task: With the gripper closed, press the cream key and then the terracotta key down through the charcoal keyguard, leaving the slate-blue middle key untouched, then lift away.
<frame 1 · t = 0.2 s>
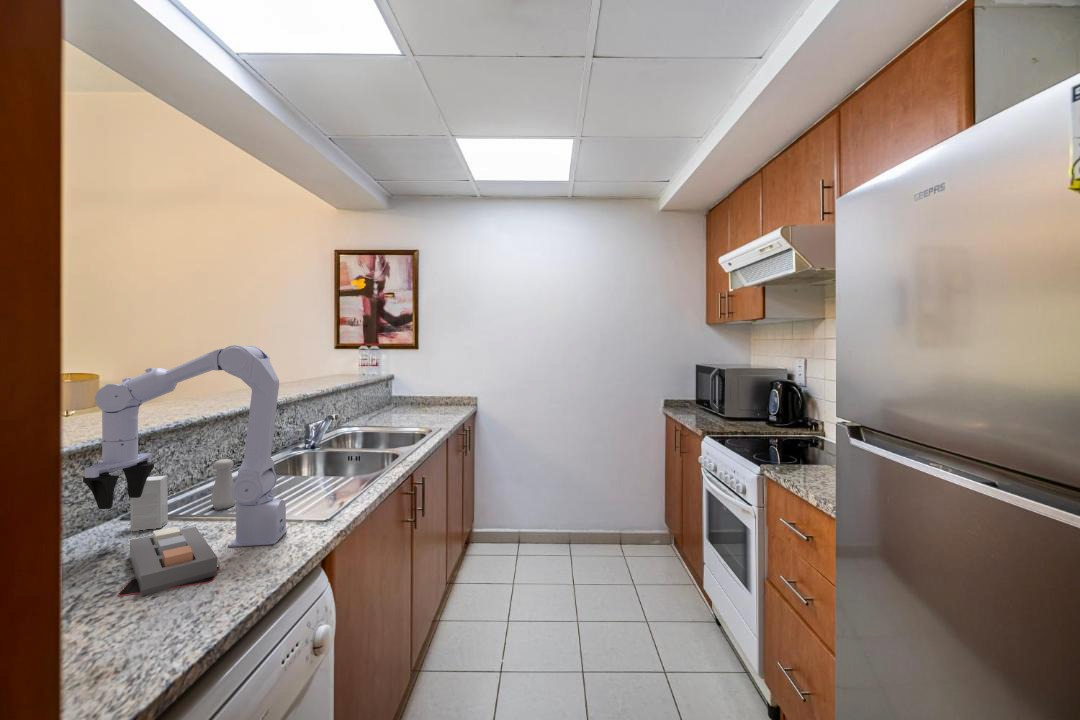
hand: (120, 502, 100), 10 cm above the countertop, tool pointing down, fingers open, 7 cm apart
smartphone: (171, 584, 86), on the countertop
key cream: (166, 537, 97), point 4 cm above the countertop, slide at 0.0 cm
slotted grey tray: (171, 565, 92), on the countertop
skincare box: (149, 528, 112), on the countertop
key slate: (171, 547, 92), point 4 cm above the countertop, slide at 0.0 cm
key terracotta: (177, 557, 87), point 4 cm above the countertop, slide at 0.0 cm
salt shaker: (223, 507, 128), on the countertop
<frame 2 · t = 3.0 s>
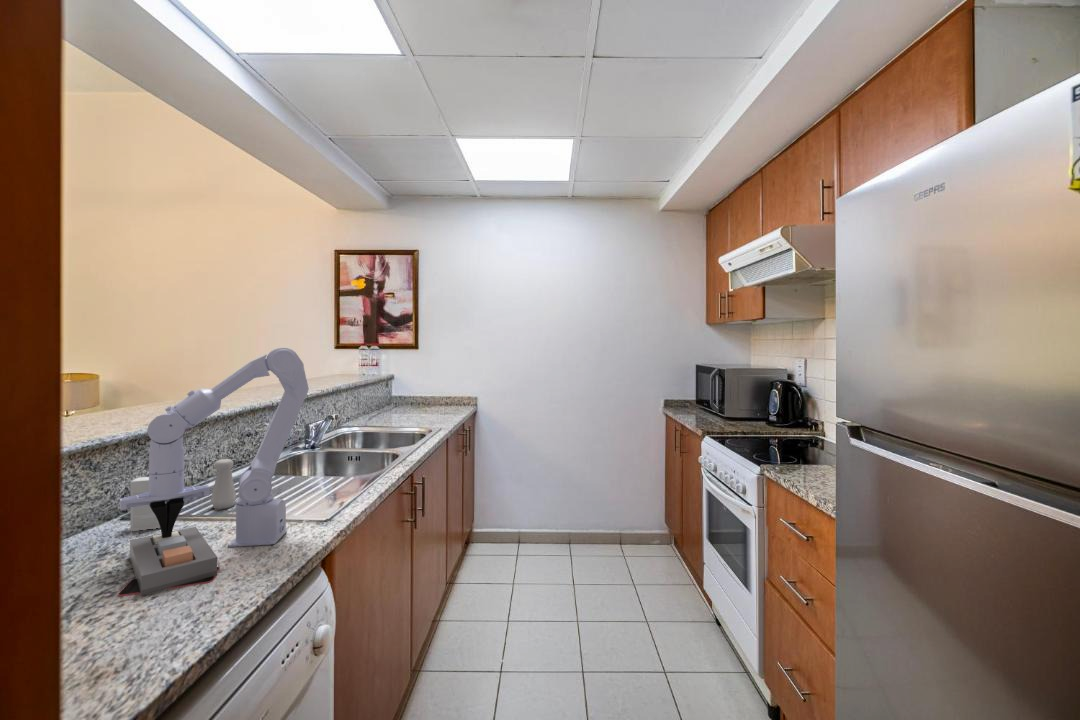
hand: (166, 536, 97), 4 cm above the countertop, tool pointing down, fingers closed, pressing on key cream
key cream: (166, 542, 97), point 3 cm above the countertop, slide at 1.0 cm, touching gripper
everything else where it was.
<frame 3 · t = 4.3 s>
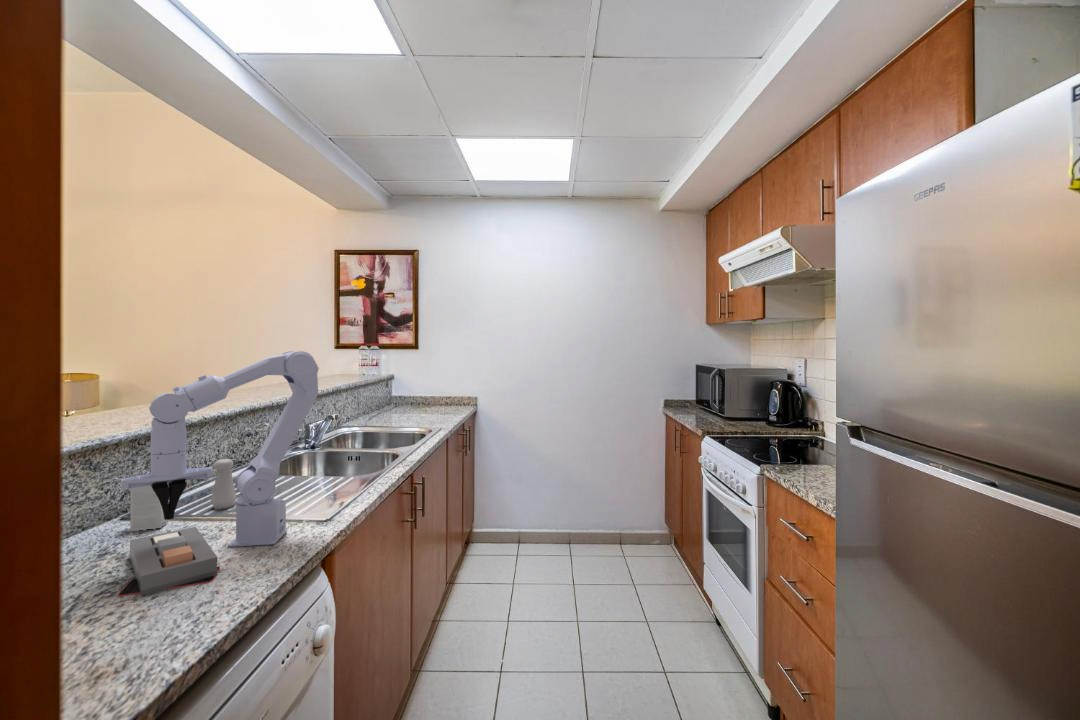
hand: (168, 518, 95), 8 cm above the countertop, tool pointing down, fingers closed
key cream: (166, 543, 97), point 2 cm above the countertop, slide at 1.3 cm
everything else where it was.
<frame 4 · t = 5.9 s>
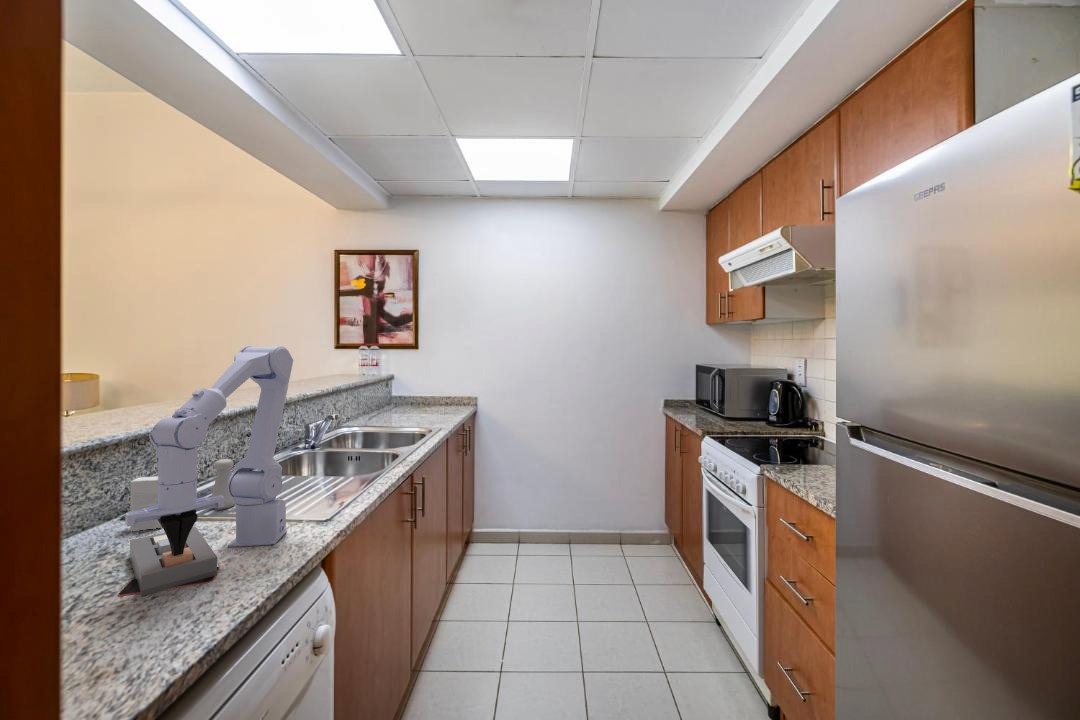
hand: (177, 553, 87), 5 cm above the countertop, tool pointing down, fingers closed, pressing on key terracotta
key terracotta: (177, 559, 87), point 3 cm above the countertop, slide at 0.4 cm, touching gripper
everything else where it was.
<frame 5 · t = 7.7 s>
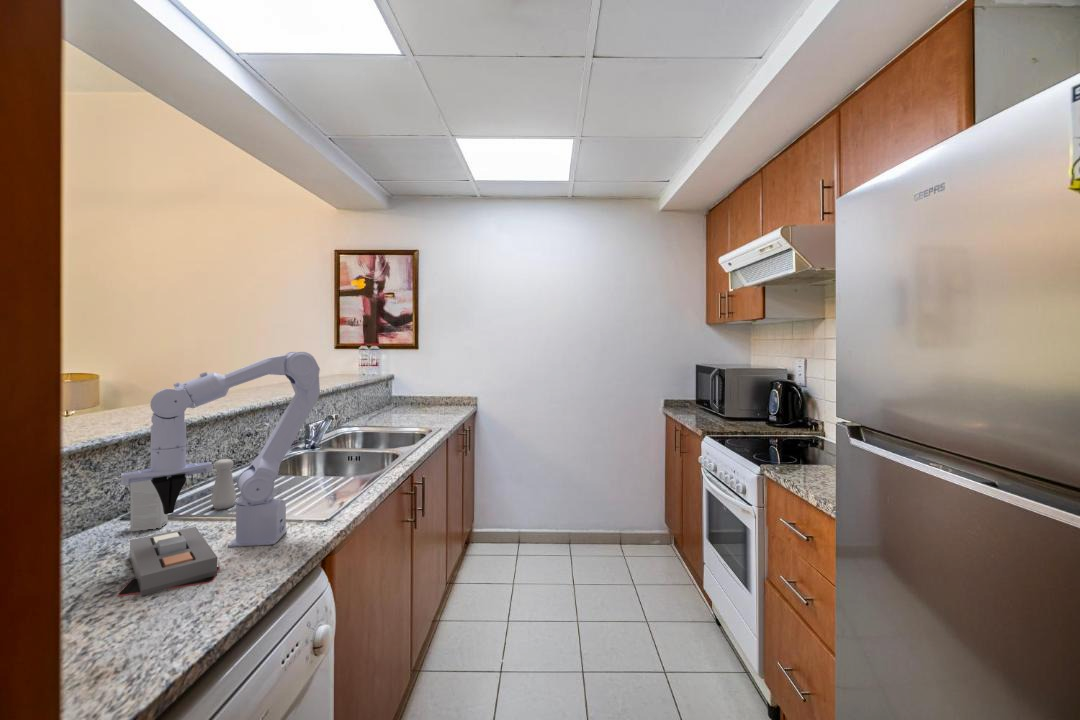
hand: (168, 512, 96), 9 cm above the countertop, tool pointing down, fingers closed
key terracotta: (177, 564, 87), point 2 cm above the countertop, slide at 1.3 cm
everything else where it was.
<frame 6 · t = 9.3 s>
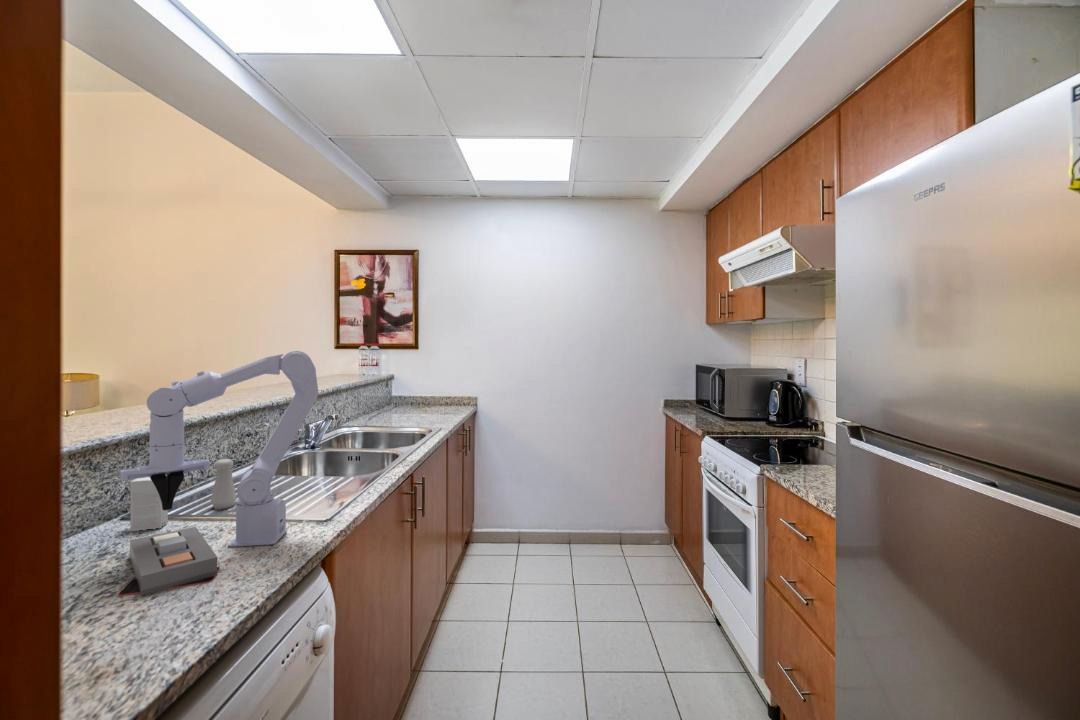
hand: (167, 508, 98), 9 cm above the countertop, tool pointing down, fingers closed
nothing on the countertop moved.
at the end: key cream slide at 1.3 cm; key terracotta slide at 1.3 cm; key slate slide at 0.0 cm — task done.
